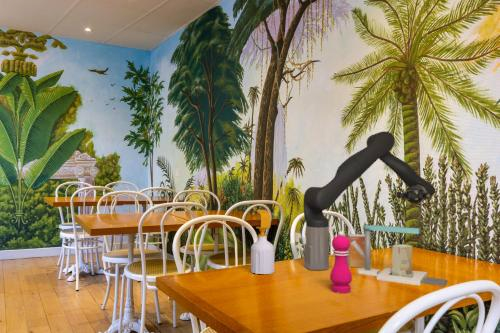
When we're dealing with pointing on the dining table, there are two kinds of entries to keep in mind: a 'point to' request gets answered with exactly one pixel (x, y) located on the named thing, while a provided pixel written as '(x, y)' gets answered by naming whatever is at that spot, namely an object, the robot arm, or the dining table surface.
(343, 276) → the pepper mill
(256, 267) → the soap bottle
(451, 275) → the dining table surface
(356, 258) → the small box
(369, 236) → the holder
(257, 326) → the dining table surface
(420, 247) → the dining table surface
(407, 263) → the skincare box
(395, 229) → the swing bar
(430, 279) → the coaster
